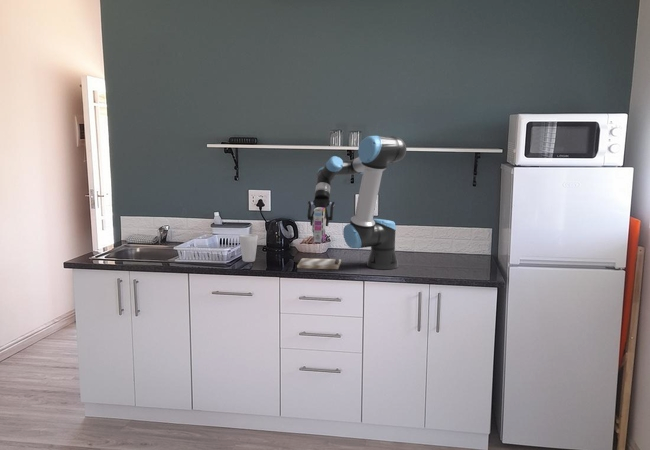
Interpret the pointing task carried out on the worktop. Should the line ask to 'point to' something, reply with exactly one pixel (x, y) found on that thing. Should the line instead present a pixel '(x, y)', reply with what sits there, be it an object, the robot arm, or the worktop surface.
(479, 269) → the worktop surface
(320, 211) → the candy bar box
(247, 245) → the foam cup
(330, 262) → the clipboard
